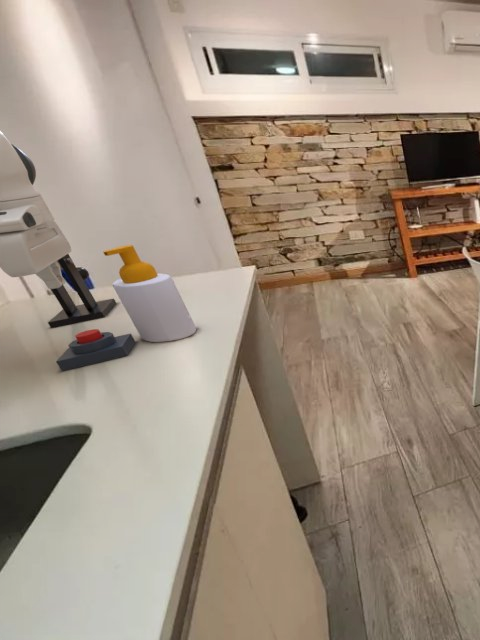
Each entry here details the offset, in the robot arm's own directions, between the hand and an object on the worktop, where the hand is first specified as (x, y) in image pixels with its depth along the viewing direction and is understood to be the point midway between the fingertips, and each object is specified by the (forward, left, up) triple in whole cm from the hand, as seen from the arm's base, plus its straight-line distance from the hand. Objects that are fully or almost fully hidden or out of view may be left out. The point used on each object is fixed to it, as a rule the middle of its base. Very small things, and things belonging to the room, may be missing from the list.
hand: (57, 286), depth 93 cm
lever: (-10, +40, -6) cm, 42 cm away
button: (+1, -1, -12) cm, 12 cm away
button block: (+1, -1, -15) cm, 15 cm away
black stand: (-10, +36, -15) cm, 41 cm away
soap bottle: (+12, +3, -16) cm, 20 cm away
